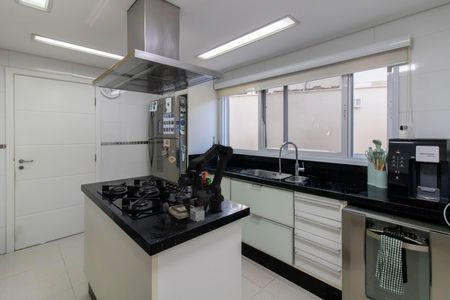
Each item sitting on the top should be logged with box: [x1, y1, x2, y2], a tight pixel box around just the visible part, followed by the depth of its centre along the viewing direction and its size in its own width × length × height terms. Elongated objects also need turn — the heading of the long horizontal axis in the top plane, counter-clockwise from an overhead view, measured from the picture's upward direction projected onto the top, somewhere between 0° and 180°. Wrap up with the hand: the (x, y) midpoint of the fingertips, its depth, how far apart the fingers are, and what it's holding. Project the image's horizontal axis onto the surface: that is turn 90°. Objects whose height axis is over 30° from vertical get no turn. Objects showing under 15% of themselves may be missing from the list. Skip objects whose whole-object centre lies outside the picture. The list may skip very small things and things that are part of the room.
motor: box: [195, 171, 212, 206], centre depth 145 cm, size 10×9×20 cm
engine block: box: [189, 206, 205, 222], centre depth 118 cm, size 5×6×5 cm
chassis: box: [162, 200, 196, 220], centre depth 129 cm, size 17×18×5 cm
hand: (197, 213), depth 118 cm, fingers open, 9 cm apart
